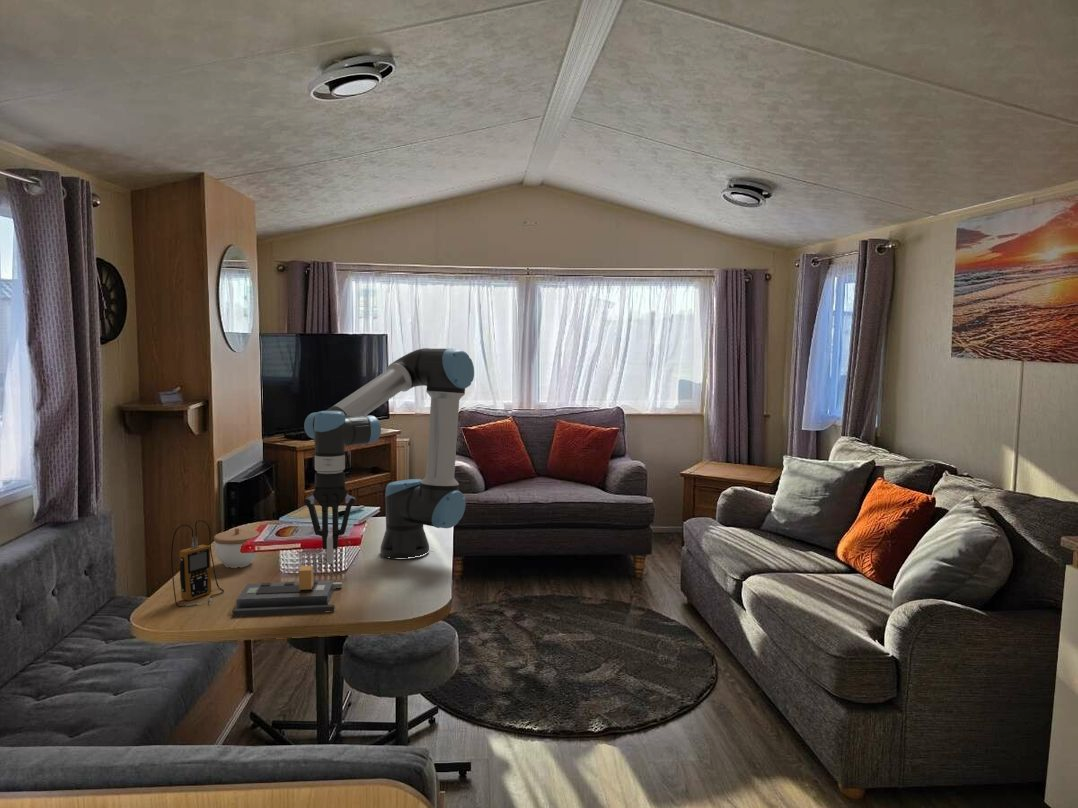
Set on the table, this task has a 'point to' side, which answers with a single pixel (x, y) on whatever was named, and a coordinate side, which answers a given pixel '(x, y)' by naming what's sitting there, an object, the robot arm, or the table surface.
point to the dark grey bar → (282, 610)
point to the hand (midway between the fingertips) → (330, 561)
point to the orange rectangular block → (306, 577)
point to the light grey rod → (337, 585)
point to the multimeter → (195, 570)
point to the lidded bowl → (234, 547)
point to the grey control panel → (284, 595)
